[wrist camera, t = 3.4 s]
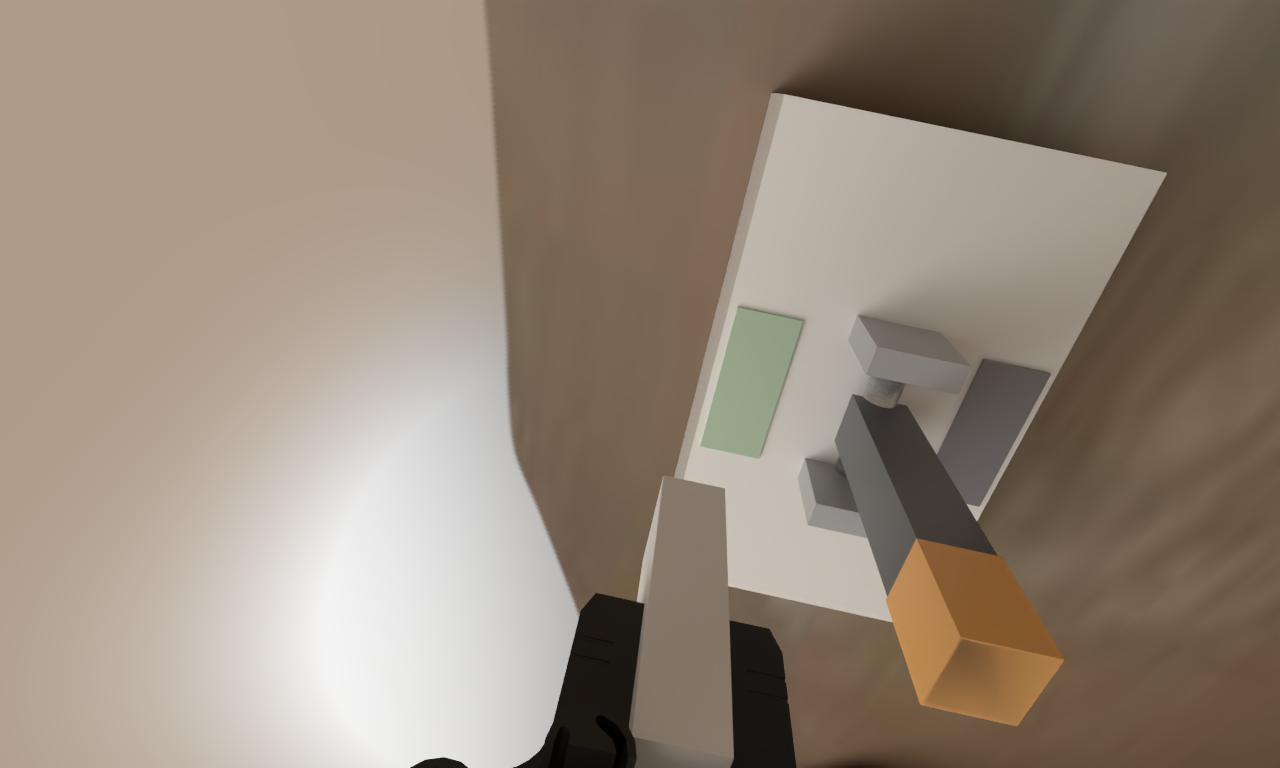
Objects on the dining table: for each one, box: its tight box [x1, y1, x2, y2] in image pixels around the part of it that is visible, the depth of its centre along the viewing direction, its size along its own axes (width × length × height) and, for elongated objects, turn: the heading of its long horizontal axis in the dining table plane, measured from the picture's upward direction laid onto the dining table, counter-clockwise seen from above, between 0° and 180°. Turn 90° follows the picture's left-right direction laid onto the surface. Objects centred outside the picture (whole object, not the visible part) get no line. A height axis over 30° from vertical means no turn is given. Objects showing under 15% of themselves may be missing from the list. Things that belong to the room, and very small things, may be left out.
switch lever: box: [834, 376, 1064, 726], centre depth 18 cm, size 4×2×12 cm, turn 169°
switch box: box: [674, 93, 1167, 622], centre depth 24 cm, size 20×12×8 cm, turn 169°
